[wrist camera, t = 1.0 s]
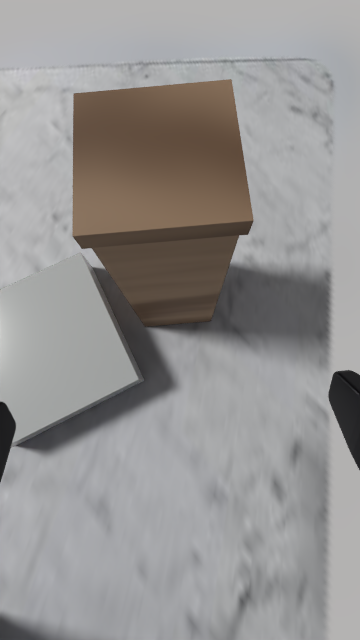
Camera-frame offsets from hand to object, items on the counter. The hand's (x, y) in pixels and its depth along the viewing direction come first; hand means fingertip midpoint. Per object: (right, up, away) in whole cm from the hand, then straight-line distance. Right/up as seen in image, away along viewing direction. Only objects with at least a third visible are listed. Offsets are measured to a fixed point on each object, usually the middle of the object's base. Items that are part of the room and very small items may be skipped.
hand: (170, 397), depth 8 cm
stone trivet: (-9, 0, +14) cm, 17 cm away
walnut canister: (0, +4, +15) cm, 15 cm away
